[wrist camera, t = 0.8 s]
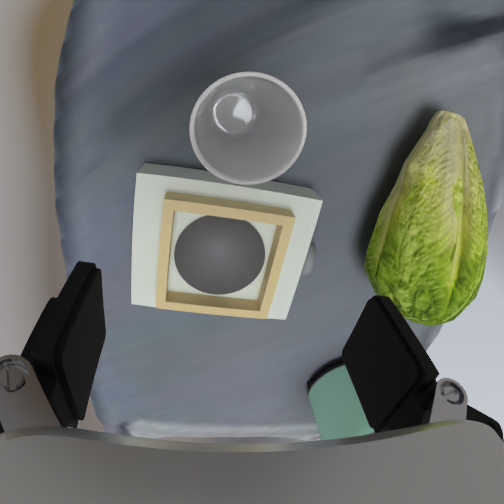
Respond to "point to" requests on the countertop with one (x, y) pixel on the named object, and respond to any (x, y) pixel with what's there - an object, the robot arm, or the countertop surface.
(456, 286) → the lettuce
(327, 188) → the countertop surface
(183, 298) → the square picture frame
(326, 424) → the green blender
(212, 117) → the drinking glass
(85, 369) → the robot arm
